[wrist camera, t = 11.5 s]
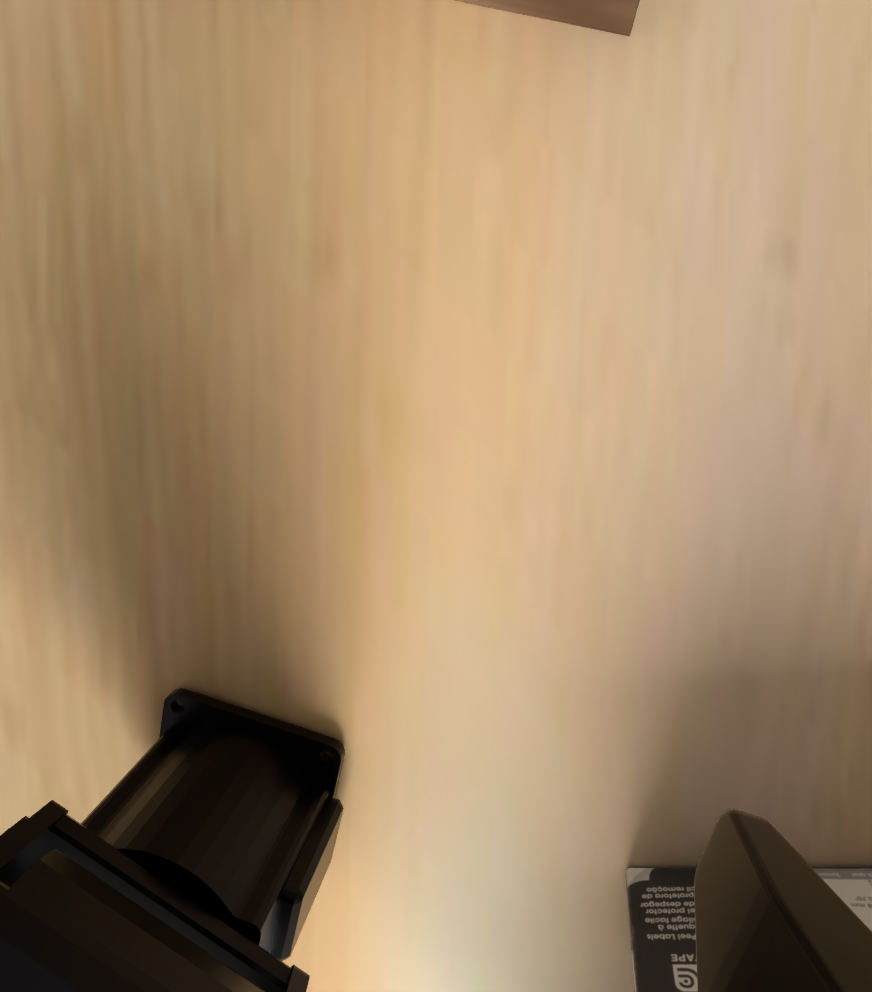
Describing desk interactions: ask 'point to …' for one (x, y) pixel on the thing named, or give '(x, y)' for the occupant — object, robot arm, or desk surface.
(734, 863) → the robot arm
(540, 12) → the block
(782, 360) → the desk surface
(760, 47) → the desk surface
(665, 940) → the label tape cartridge
